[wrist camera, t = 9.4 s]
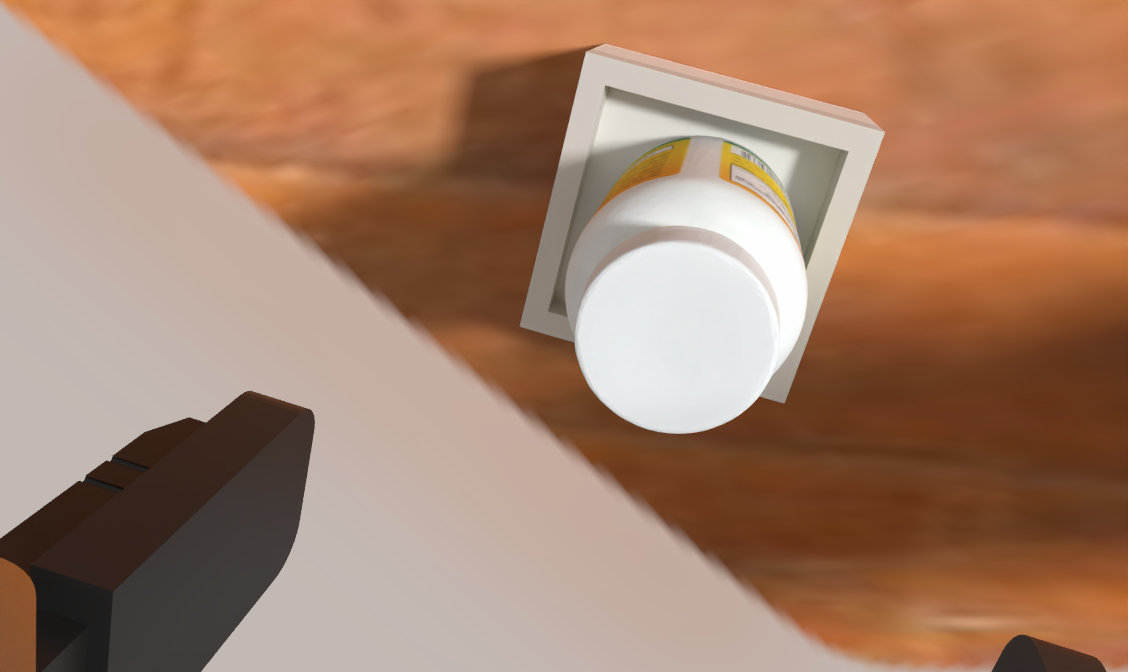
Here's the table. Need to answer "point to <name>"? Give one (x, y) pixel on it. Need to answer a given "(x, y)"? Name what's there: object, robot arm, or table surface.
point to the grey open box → (708, 108)
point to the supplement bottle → (687, 286)
